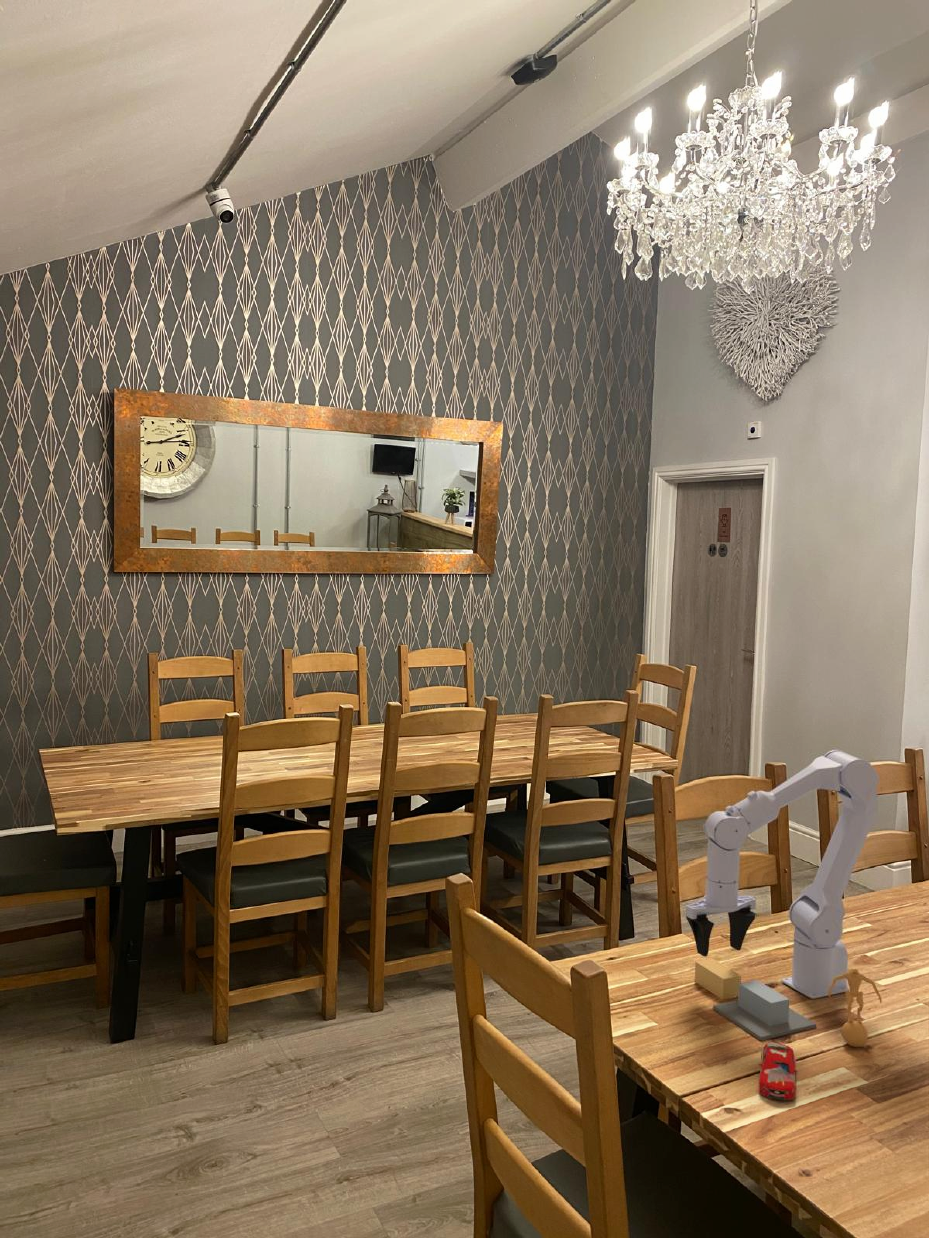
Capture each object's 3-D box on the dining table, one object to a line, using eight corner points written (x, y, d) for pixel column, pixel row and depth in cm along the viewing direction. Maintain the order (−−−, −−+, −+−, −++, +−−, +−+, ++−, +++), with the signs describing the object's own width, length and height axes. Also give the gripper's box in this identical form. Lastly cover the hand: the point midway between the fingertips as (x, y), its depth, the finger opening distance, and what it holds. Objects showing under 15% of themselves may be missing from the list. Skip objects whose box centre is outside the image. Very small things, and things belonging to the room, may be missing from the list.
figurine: (829, 1047, 154) (832, 975, 153) (823, 1030, 159) (826, 960, 159) (883, 1054, 152) (887, 981, 151) (876, 1036, 158) (879, 966, 157)
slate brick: (755, 1001, 168) (756, 979, 168) (788, 1021, 161) (789, 998, 161) (737, 1005, 166) (738, 983, 166) (770, 1026, 159) (771, 1002, 159)
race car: (795, 1108, 136) (796, 1081, 136) (756, 1100, 138) (757, 1074, 138) (797, 1064, 149) (799, 1039, 149) (761, 1056, 151) (762, 1032, 150)
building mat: (766, 997, 171) (766, 993, 171) (816, 1027, 160) (816, 1023, 160) (713, 1008, 166) (713, 1005, 166) (760, 1040, 155) (760, 1036, 155)
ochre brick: (711, 978, 179) (712, 958, 179) (740, 996, 172) (741, 975, 171) (694, 982, 177) (695, 961, 177) (722, 1000, 170) (723, 978, 170)
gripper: (738, 867, 180) (735, 937, 180) (676, 876, 174) (673, 948, 174) (764, 879, 173) (761, 951, 174) (701, 888, 167) (697, 963, 168)
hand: (719, 951), depth 174 cm, fingers open, 7 cm apart
